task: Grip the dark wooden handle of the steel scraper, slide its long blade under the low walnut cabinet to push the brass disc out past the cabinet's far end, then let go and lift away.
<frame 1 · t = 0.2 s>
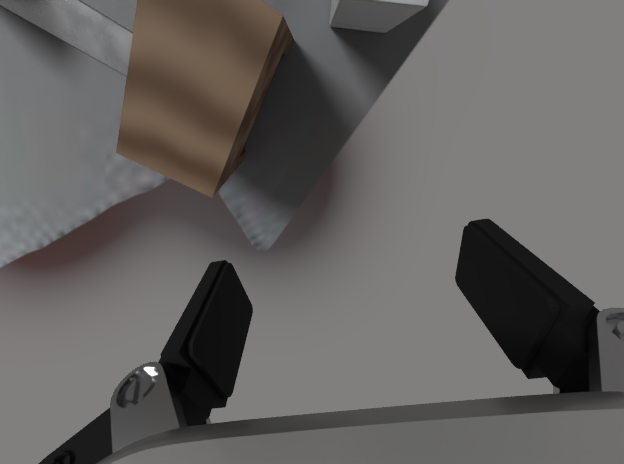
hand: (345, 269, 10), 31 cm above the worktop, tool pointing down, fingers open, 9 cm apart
cabinet: (230, 87, 33), on the worktop
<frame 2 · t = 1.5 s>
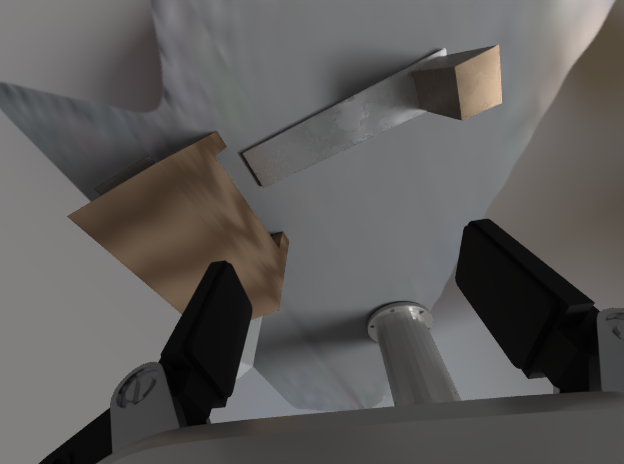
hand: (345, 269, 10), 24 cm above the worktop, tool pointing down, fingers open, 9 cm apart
cabinet: (228, 207, 35), on the worktop
scraper: (426, 84, 27), on the worktop
supplement box: (240, 300, 45), on the worktop
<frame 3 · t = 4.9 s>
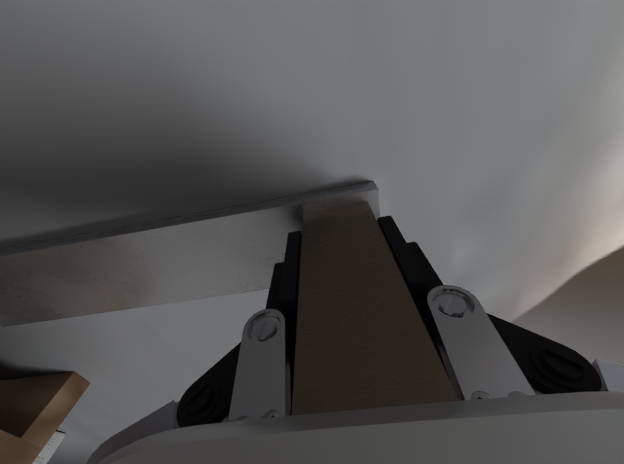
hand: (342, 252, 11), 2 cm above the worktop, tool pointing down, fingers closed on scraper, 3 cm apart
scraper: (338, 231, 13), on the worktop, touching gripper
supplement box: (22, 428, 28), on the worktop
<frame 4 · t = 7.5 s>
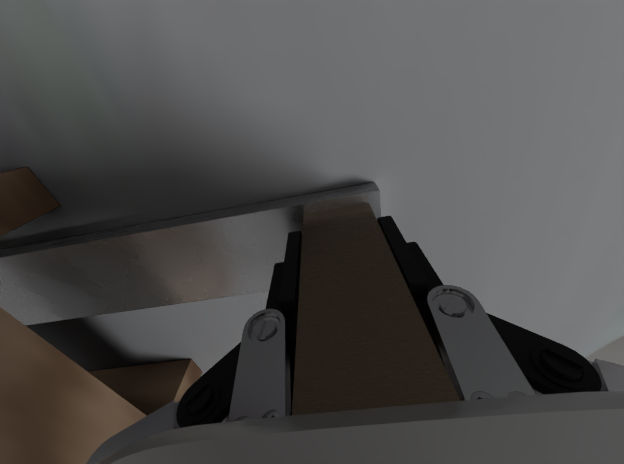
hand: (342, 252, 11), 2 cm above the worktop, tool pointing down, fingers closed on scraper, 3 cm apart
cabinet: (74, 310, 16), on the worktop
scraper: (339, 232, 13), on the worktop, touching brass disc, gripper
when the fingers open (2 cm above the worktop, at t = 9.6 s): scraper stays where it is, on the worktop.
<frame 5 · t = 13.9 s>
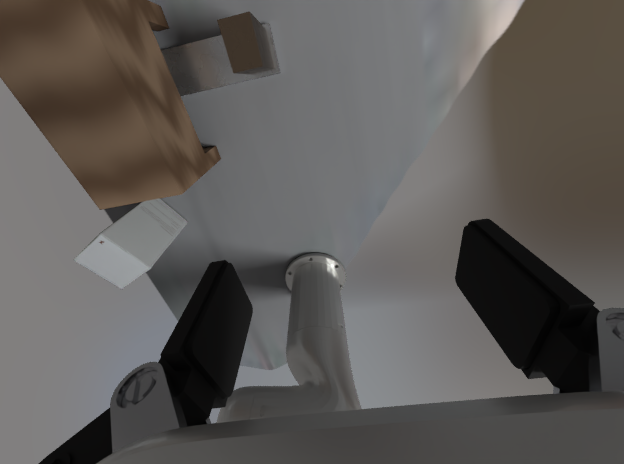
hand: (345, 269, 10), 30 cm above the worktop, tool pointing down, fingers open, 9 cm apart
cabinet: (161, 101, 33), on the worktop
scraper: (260, 53, 31), on the worktop
supplement box: (160, 218, 44), on the worktop
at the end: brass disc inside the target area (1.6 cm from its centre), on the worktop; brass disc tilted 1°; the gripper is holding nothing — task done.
